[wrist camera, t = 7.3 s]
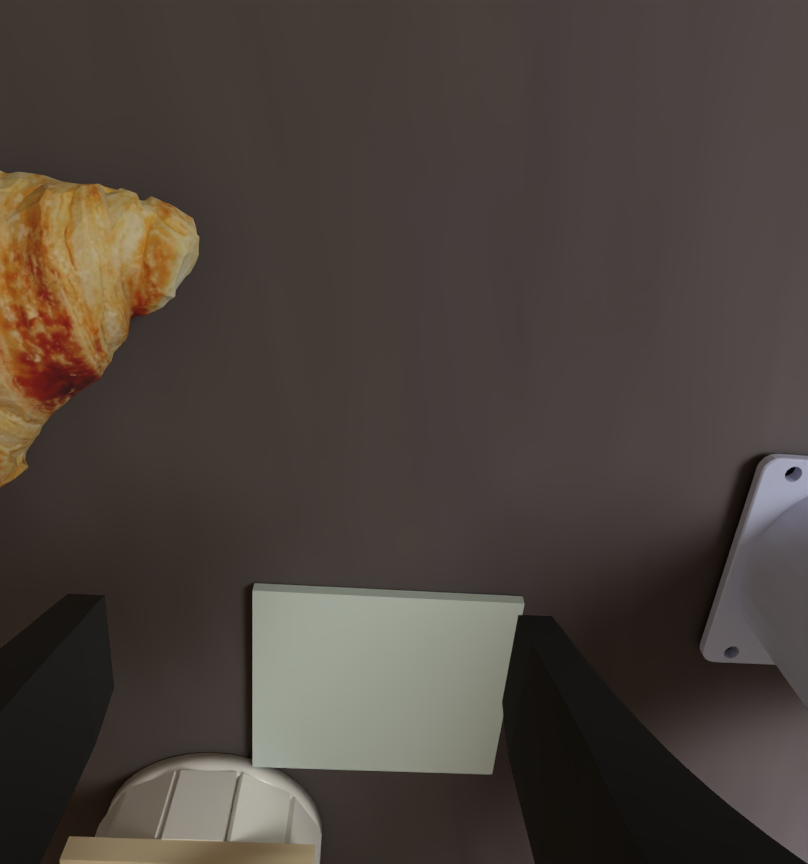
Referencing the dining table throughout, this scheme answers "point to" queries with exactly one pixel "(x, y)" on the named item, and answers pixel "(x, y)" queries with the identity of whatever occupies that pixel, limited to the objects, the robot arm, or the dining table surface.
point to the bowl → (213, 803)
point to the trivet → (379, 678)
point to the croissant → (74, 291)
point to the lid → (181, 852)
